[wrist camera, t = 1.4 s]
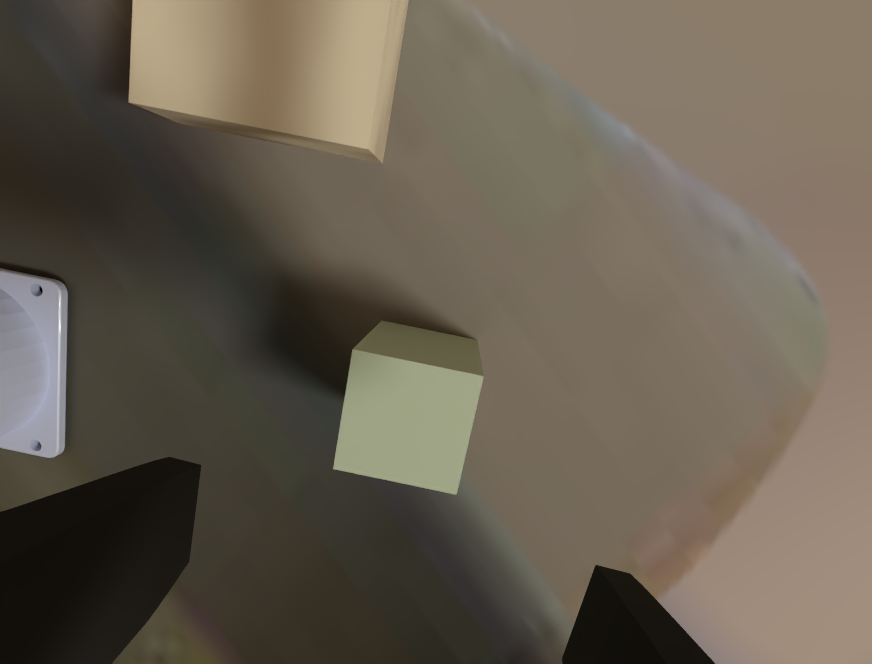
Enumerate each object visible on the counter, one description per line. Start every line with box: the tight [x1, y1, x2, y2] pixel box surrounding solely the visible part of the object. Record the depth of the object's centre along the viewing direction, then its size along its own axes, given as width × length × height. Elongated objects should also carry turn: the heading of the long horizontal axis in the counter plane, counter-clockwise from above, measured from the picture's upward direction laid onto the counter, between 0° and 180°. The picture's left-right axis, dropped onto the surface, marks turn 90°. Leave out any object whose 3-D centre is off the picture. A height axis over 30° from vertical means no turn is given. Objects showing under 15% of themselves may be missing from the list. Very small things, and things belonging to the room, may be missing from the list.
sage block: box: [333, 321, 484, 495], centre depth 16 cm, size 4×4×5 cm
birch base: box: [129, 0, 408, 163], centre depth 15 cm, size 8×8×3 cm
